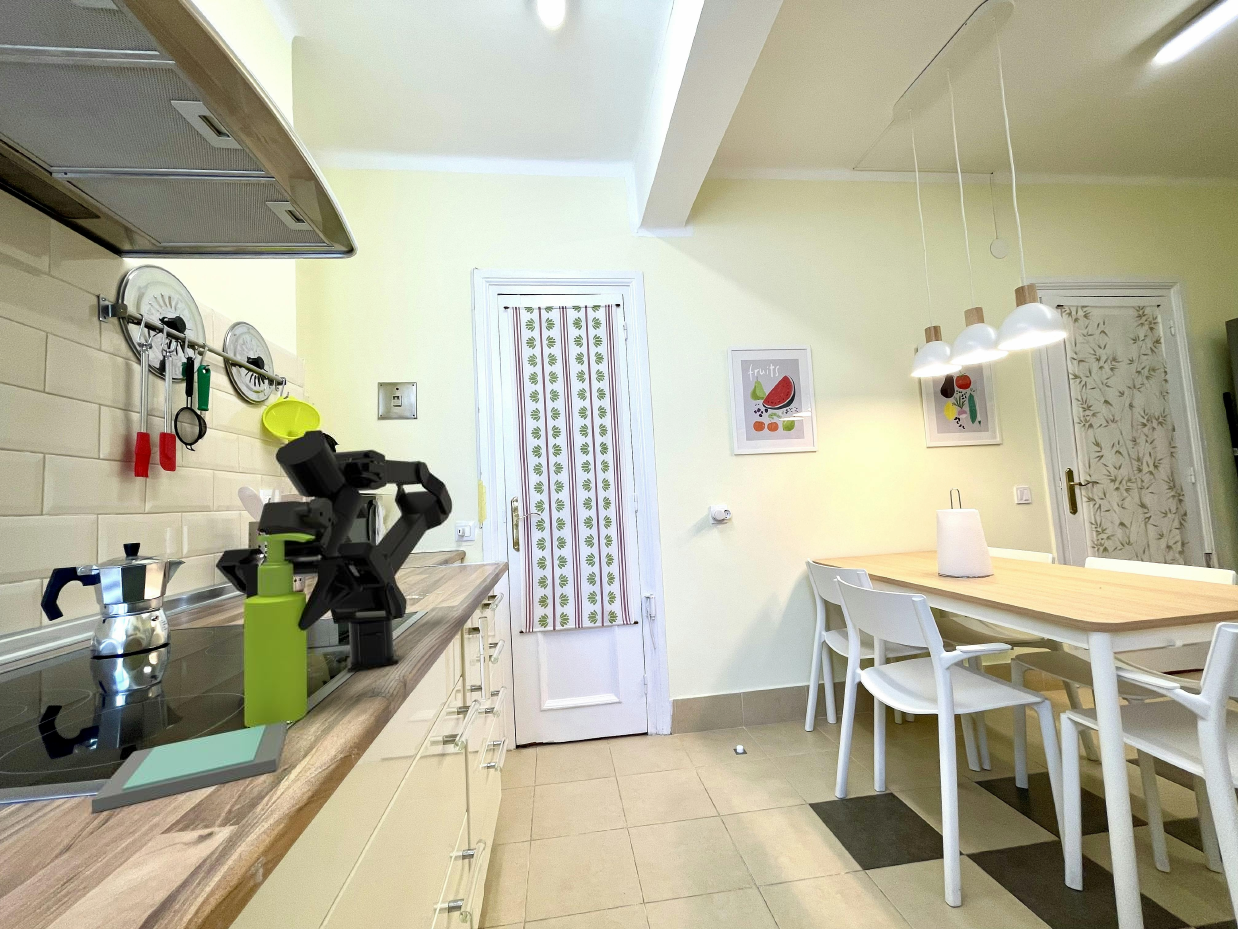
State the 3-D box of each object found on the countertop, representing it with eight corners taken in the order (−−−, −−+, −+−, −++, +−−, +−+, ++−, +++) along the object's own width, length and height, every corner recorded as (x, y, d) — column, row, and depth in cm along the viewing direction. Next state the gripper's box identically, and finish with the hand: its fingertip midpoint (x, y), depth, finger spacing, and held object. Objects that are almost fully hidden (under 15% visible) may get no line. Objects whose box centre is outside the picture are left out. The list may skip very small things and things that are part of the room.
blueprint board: (133, 762, 55) (133, 749, 55) (286, 730, 60) (286, 719, 60) (91, 813, 46) (91, 797, 46) (276, 770, 51) (275, 756, 51)
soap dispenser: (297, 728, 61) (295, 535, 61) (231, 729, 61) (231, 537, 61) (326, 706, 67) (325, 531, 67) (266, 707, 67) (265, 532, 67)
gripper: (224, 482, 70) (146, 590, 59) (373, 472, 69) (322, 581, 57) (271, 542, 78) (209, 648, 66) (406, 534, 76) (367, 641, 65)
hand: (273, 629), depth 64 cm, fingers closed on soap dispenser, 6 cm apart
